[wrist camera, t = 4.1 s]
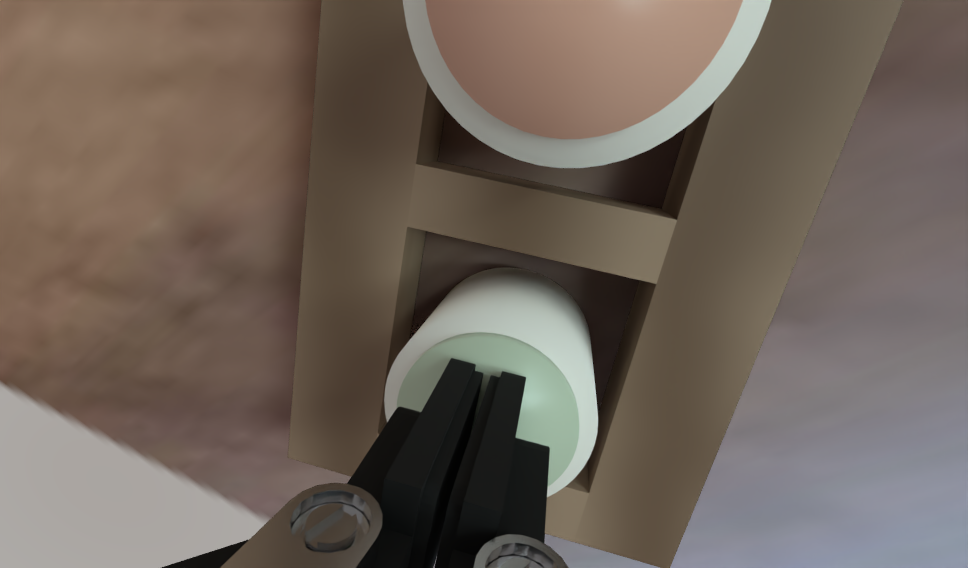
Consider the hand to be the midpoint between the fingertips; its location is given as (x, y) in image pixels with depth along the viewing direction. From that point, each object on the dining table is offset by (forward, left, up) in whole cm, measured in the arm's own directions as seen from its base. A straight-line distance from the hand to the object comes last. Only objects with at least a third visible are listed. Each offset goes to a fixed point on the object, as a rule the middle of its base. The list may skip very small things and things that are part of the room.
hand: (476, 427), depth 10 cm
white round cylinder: (0, 0, -4) cm, 4 cm away
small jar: (0, -8, -2) cm, 8 cm away
